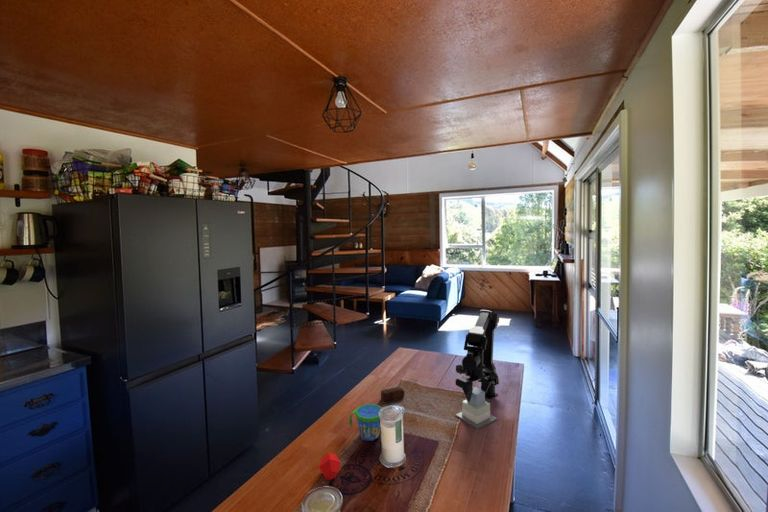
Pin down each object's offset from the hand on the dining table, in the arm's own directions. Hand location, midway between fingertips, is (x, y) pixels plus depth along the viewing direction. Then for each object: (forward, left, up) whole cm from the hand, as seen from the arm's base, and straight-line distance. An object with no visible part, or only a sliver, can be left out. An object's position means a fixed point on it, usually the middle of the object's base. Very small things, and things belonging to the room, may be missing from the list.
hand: (476, 398), depth 137 cm
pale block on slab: (0, 0, -8) cm, 8 cm away
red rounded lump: (+64, -5, -9) cm, 65 cm away
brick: (+20, -33, -9) cm, 39 cm away
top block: (0, 0, -2) cm, 2 cm away
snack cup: (+43, -15, -9) cm, 46 cm away
